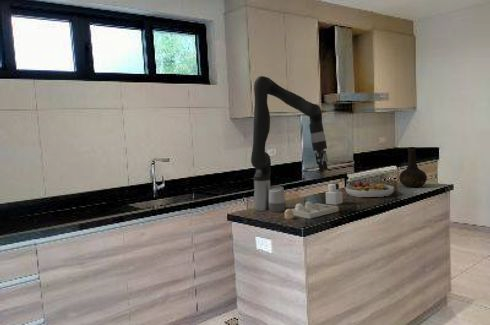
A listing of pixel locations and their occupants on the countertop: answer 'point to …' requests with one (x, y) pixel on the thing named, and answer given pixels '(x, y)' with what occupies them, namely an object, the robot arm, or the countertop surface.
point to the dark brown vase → (412, 172)
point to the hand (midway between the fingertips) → (323, 170)
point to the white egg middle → (308, 205)
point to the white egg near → (299, 207)
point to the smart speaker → (277, 199)
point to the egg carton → (316, 210)
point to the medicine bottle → (333, 194)
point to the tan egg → (288, 214)
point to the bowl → (369, 190)
